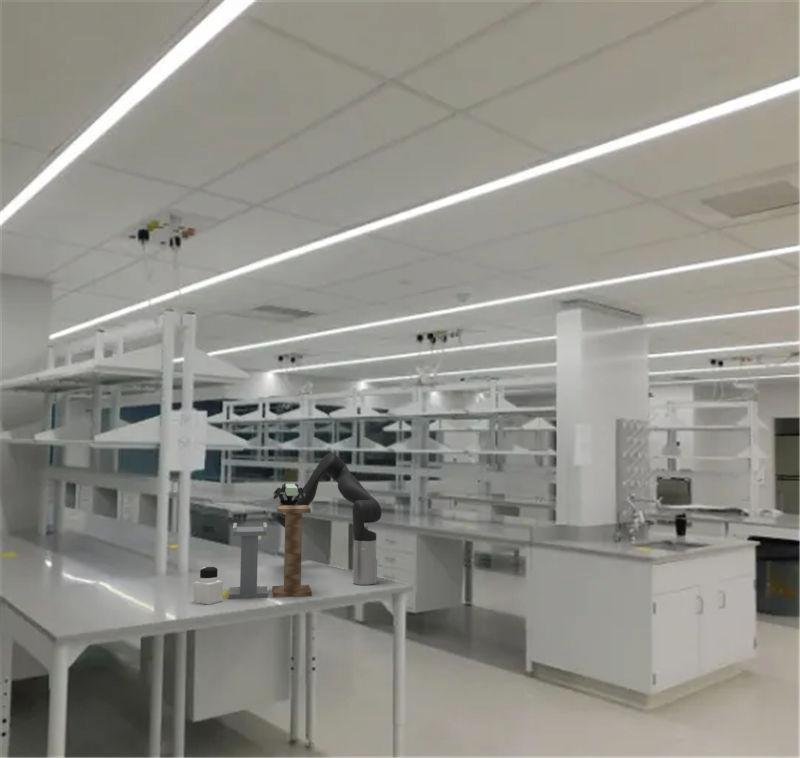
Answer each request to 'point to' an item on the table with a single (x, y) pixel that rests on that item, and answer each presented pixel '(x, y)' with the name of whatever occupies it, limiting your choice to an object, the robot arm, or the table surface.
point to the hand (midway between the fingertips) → (290, 485)
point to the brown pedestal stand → (292, 553)
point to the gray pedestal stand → (249, 563)
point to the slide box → (291, 490)
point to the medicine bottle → (208, 587)
